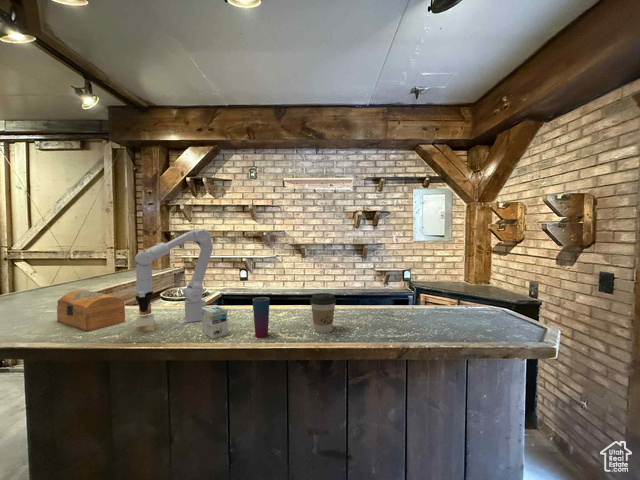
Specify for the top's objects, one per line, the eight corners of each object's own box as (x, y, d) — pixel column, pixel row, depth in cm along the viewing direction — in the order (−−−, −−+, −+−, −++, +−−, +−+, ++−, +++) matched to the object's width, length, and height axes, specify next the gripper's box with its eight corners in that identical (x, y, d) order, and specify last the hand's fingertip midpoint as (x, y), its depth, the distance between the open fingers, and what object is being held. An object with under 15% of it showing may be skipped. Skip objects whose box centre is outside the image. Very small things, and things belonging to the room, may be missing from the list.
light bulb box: (228, 334, 111) (228, 308, 110) (212, 339, 106) (211, 312, 106) (217, 328, 118) (216, 304, 118) (201, 332, 113) (201, 307, 113)
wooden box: (54, 322, 128) (53, 293, 128) (96, 313, 142) (95, 287, 142) (82, 333, 113) (81, 301, 113) (125, 322, 128) (125, 293, 128)
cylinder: (152, 311, 120) (151, 302, 120) (150, 314, 116) (149, 305, 116) (140, 312, 119) (140, 303, 118) (138, 315, 114) (137, 306, 114)
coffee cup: (317, 337, 107) (317, 300, 107) (305, 328, 117) (305, 294, 117) (341, 332, 112) (341, 296, 112) (328, 324, 122) (328, 291, 122)
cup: (266, 339, 105) (265, 301, 105) (250, 338, 107) (249, 300, 106) (272, 333, 112) (272, 297, 112) (257, 332, 113) (256, 296, 113)
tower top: (153, 320, 121) (153, 314, 121) (152, 324, 115) (151, 318, 115) (137, 322, 118) (137, 316, 118) (135, 327, 113) (135, 320, 113)
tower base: (155, 326, 122) (155, 320, 122) (153, 331, 116) (153, 325, 116) (137, 329, 119) (136, 322, 119) (134, 334, 112) (134, 327, 112)
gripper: (136, 277, 122) (137, 307, 122) (129, 282, 109) (130, 316, 109) (154, 276, 125) (155, 305, 125) (150, 281, 112) (150, 313, 112)
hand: (145, 310), depth 117 cm, fingers closed on cylinder, 4 cm apart
